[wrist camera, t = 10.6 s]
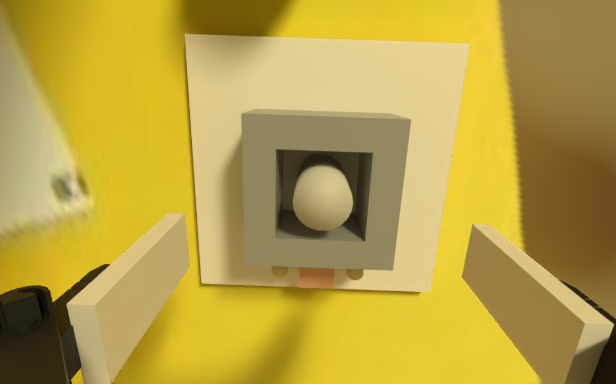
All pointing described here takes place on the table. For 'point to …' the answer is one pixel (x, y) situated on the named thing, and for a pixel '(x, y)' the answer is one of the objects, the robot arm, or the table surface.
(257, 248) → the grey hollow box
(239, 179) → the post block
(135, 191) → the table surface
